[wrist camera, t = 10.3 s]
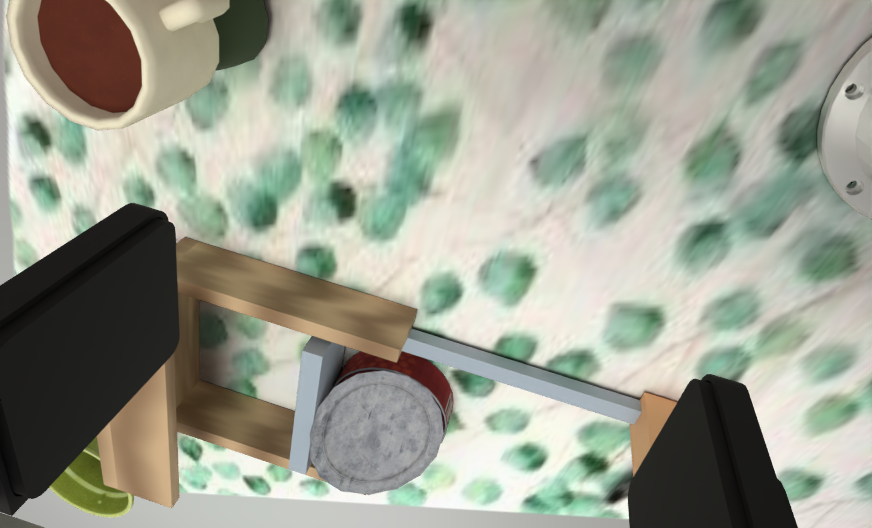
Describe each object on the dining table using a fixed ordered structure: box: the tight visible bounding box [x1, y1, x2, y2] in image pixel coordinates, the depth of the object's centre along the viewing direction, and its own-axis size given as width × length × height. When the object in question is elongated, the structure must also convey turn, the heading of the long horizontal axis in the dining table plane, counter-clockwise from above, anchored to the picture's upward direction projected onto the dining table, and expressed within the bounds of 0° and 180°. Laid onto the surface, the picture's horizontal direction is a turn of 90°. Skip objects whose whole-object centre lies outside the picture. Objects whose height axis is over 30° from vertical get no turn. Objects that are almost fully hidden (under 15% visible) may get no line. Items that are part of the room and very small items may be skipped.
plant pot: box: [49, 436, 134, 517], centre depth 56 cm, size 9×9×9 cm
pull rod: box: [288, 329, 677, 477], centre depth 46 cm, size 28×14×7 cm, turn 78°
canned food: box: [310, 351, 453, 495], centre depth 48 cm, size 11×10×10 cm
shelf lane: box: [97, 237, 417, 508], centre depth 46 cm, size 19×16×12 cm
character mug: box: [6, 0, 268, 130], centre depth 32 cm, size 11×7×13 cm, turn 110°
